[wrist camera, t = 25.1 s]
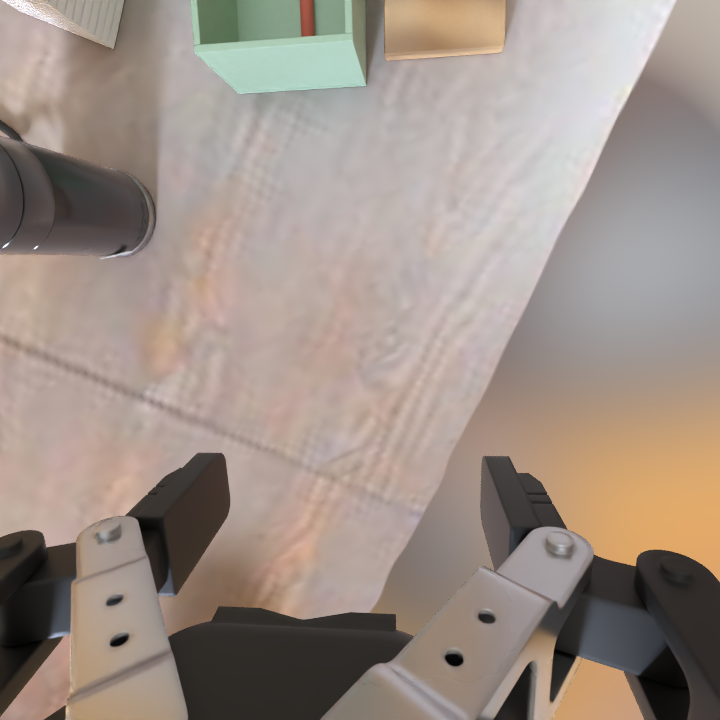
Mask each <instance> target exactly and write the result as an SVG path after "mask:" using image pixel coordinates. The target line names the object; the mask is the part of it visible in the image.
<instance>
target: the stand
mask: <svg viewBox="0 0 720 720" xmlns="http://www.w3.org/2000/svg"><path fill="white" fill-rule="evenodd" d="M506 3H507V0H384V36H385V60H386V61H390V60H405V59H419V58H433V57H448V56H462V55H477V54H491V53H501V52H502V50H503V48H504V44H505V24H506Z"/></svg>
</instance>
